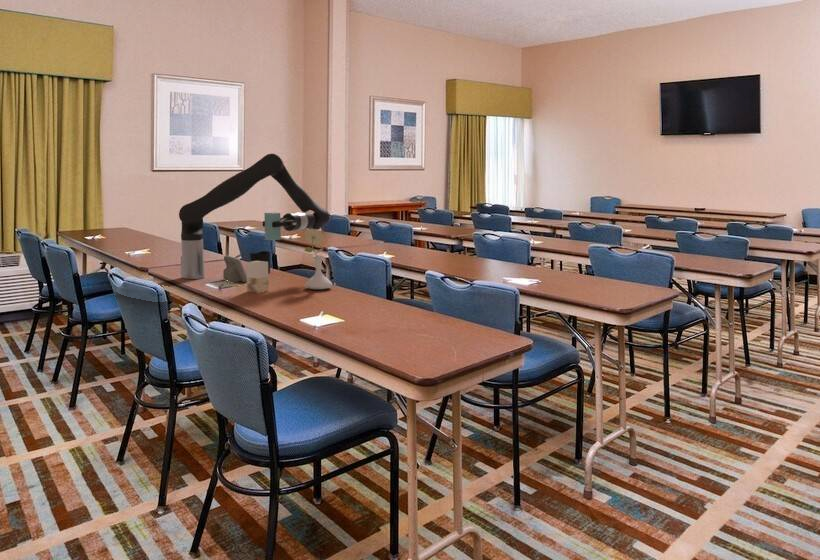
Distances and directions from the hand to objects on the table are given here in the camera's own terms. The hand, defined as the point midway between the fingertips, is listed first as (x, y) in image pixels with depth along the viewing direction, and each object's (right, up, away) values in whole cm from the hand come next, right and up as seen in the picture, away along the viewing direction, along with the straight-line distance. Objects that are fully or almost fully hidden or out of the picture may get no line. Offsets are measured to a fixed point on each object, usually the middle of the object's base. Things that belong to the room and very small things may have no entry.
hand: (268, 224), depth 267 cm
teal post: (+1, -6, +4) cm, 7 cm away
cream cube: (-4, -21, -2) cm, 22 cm away
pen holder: (-13, -20, +43) cm, 49 cm away
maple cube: (-4, -27, -1) cm, 28 cm away
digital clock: (-19, -23, +23) cm, 38 cm away
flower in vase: (+19, -27, +6) cm, 33 cm away
